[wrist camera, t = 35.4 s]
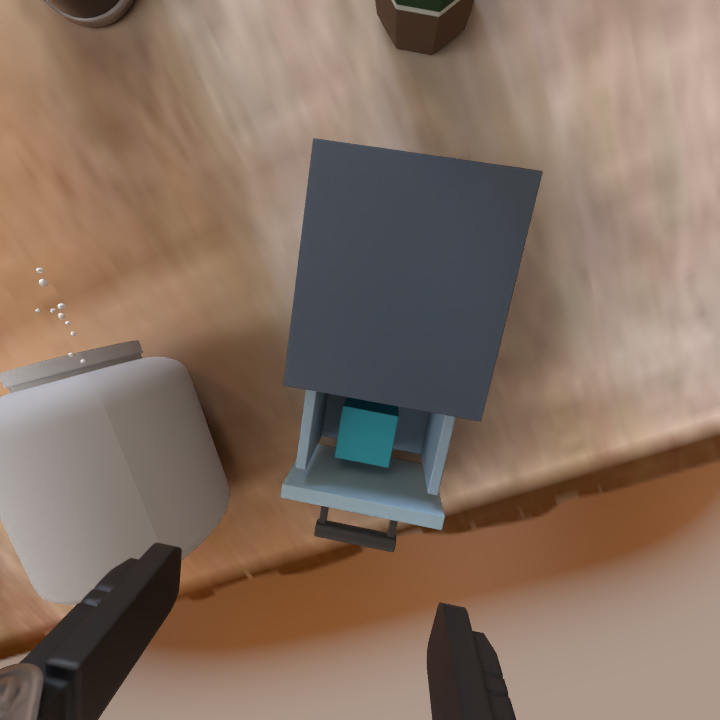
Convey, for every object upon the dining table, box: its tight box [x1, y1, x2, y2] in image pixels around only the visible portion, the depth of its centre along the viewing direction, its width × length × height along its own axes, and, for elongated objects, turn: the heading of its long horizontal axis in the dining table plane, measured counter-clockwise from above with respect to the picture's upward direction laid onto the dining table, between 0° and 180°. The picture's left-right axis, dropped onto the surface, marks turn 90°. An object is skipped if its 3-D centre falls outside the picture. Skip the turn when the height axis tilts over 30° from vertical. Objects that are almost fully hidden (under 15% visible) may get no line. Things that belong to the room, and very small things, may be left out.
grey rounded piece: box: [0, 268, 230, 605], centre depth 29 cm, size 19×15×25 cm
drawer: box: [281, 390, 456, 552], centre depth 30 cm, size 20×13×8 cm, turn 170°
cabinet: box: [283, 138, 542, 421], centre depth 27 cm, size 16×14×10 cm
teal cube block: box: [335, 397, 399, 468], centre depth 30 cm, size 4×4×4 cm
